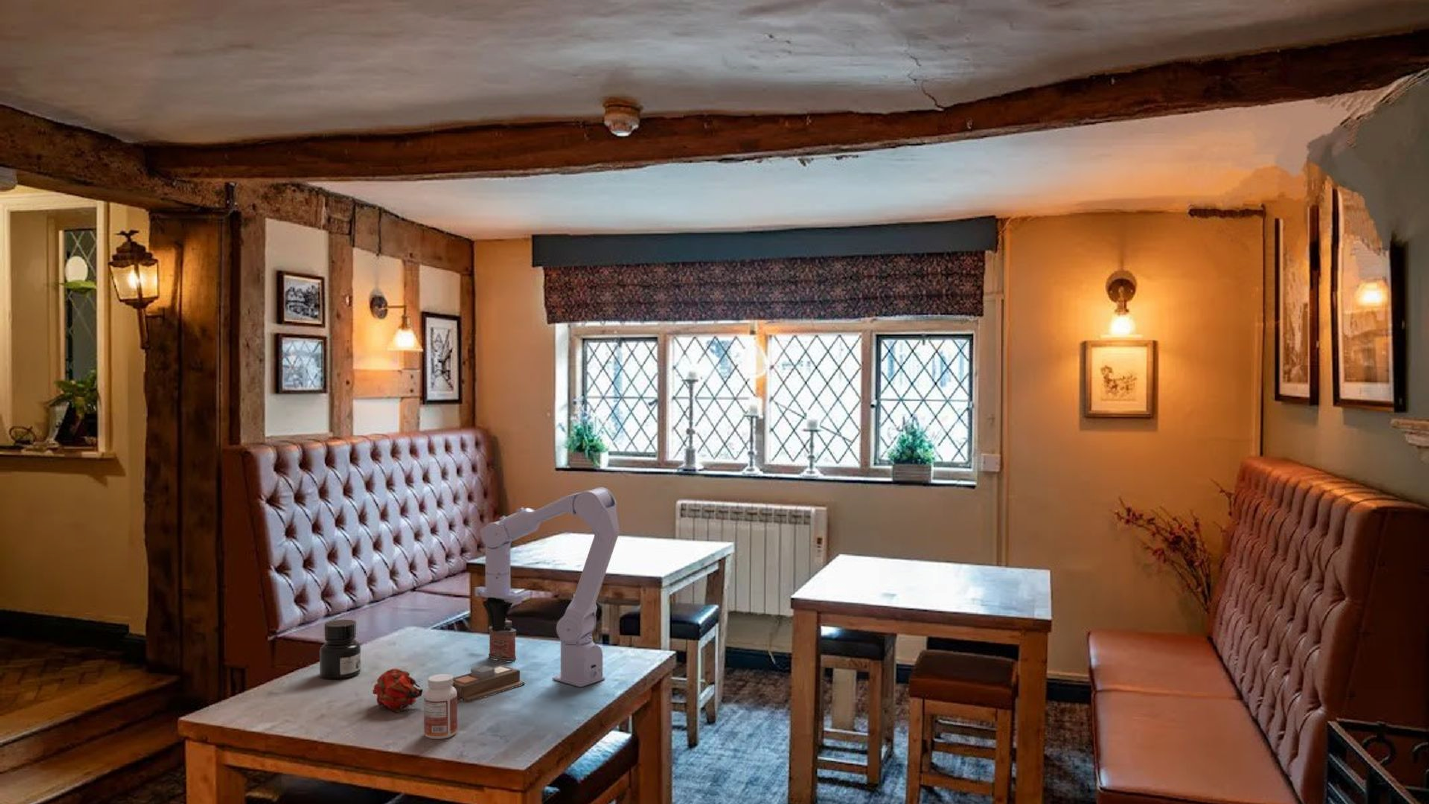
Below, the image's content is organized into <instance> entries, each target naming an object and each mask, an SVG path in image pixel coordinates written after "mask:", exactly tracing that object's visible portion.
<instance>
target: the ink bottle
mask: <svg viewBox="0 0 1429 804" xmlns="http://www.w3.org/2000/svg"><path fill="white" fill-rule="evenodd" d="M356 636H357V622H356V620H353V619H336V620H331V621H326V622H325V623H324V641H325V642H324V644H322V646H320V647H319V648H320V649H319V676H320V677H321V678H323V679H327V680H342V679H350V678H352V677H355V676H357V675H359V674H360V672H361V671H362V667H361V665H362V664H361V663H362V660H361V659H362V656H361V655H362V654H361V653H362V652H361V649H362V647H361V644H360V643H359V642H358V641H357V640H356Z"/></svg>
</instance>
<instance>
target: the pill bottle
mask: <svg viewBox="0 0 1429 804" xmlns="http://www.w3.org/2000/svg"><path fill="white" fill-rule="evenodd" d="M453 678H454V676H453V675H452V674H449V673H441V674H440V673H439V674H434V675H430V676H429V677H428V679H427V686H428V687H429V688H427V689H426V690H425V692H424V694H423V704H424V705H423V712H424V713H423V716H424V717H423V718H424V719H423V720H424V721H423V723H424V724H423V726H424V728H423V732H424V735H425V737H426V738H428V739H432V740H443V739H444V740H445V739H448V738H451V737H453V736H454V735H456V734H457V732H458V698H457V691H456V689H455V688H454V687H453V686H452V685H453Z"/></svg>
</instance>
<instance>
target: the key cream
mask: <svg viewBox="0 0 1429 804" xmlns="http://www.w3.org/2000/svg"><path fill="white" fill-rule="evenodd" d="M494 669H495V676H496V675H500V674H503V673H506V672H510V669H507V668H503V667H497V668H494Z"/></svg>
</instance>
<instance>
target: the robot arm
mask: <svg viewBox="0 0 1429 804" xmlns="http://www.w3.org/2000/svg"><path fill="white" fill-rule="evenodd" d="M617 505H618V503H617V500H616V498H615V497H614V496H613V494H612V492H611V491H610V490H609V489H607V488H606V487H601V486H599V487H595V488H593V489H591V490H585V491H580V492H576V493H573V494H569V495H566V496H563V497H561V498H559V499H556V500H554V501H553V502H550V503H548V504H546V505H544V506H543V507H540V508H538V509H533V508H529V507H526V508H524V507H520V508H517V509H516V512H515V513H512V514H510V515H508V516H505V515H502V516H501V517H499V520H498V521H493V522H489V523H488V524H486V525H485V526H483V528H482V530H481V534H480V538H481V541H482V543H483V544H484V546H485V561H484V562H485V563H484V564H485V568H484V569H485V570H484V571H485V586H477V587H474V597H483V598H487V599H486V600H483V601H482V605H483V606H484V608H485V610H486V613H487V615H488V618H489V620H490V621H489V623H490V625H491V626H492V629H493V631H496V632H497V631H501V630H503V628H504V624H505V620H506V618H507V616H508V613H509V612H510V609H511V608H512V606H513V605H520V604H523V602H522V601H523V599H522V598H523V597H522V596H523V595H522V594H519V593H517V592H515V591H513V590H511V544H512V542H513V541H516V540H518V539H521V538H522V537H525V536H527V535H530V534H532V533H535V532H537V531H538V530H539V528H540V525H541V523H543V522H545V521H548V520H550V519H553V518H556V517H559V516H561V515H563V514H566V513H567V514H570V515H572V516H574V515H577V516H578V517H579V518H580V519H581V520H582V521H583V522H584V523H585V524H587V525H588V526H589V528H590V529H591V531H592V533H593V534H594V536H593V540H592V542H591V545H590V547H589V550H588V553H587V557H586V559H585V563H584V566H583V568H582V569H583V570H582V571H581V575H580V578H579V581H578V583H577V586H576V589H575V593H574V595H573V598H572V600H571V602H570V603H569V605H568V606H567V608H566V609H565V613H564V614H563V616H562V617H561V618H560V619H559V620H558V621H557V623H556V627H555V628H556V629H555V631H556V634H557V637H559V639H560V674H558V675H555V676H553V677H551V678H552V680H554V681H558V682H561V683H565V684H569V685H572V686H576V687H578V688H581V687H582V688H583V687H585V686H587V685H591V684H594V683H598V682H600V681H603V680H605V679H606V677H605V676H604V675H603V672H604V671H603V668H604V667H603V666H604V665H603V664H604V663H603V660H604V659H603V657H604V655H603V650H602V647H600V646H599V645H597V644H596V643H595V642H594V640H593V634H592V632H593V631H594V630H595V628H596V625H597V616H596V615H597V609H598V606H597V604H596V602H597V600H598V597H599V593H600V591H601V588H602V585H603V583H604V579H605V575H606V573H607V569H608V567H609V564H610V561H611V558H612V555H613V552H614V549H615V546H616V543H617V540H618V537H619V535H620V525H619V519H618V513H617Z"/></svg>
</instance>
